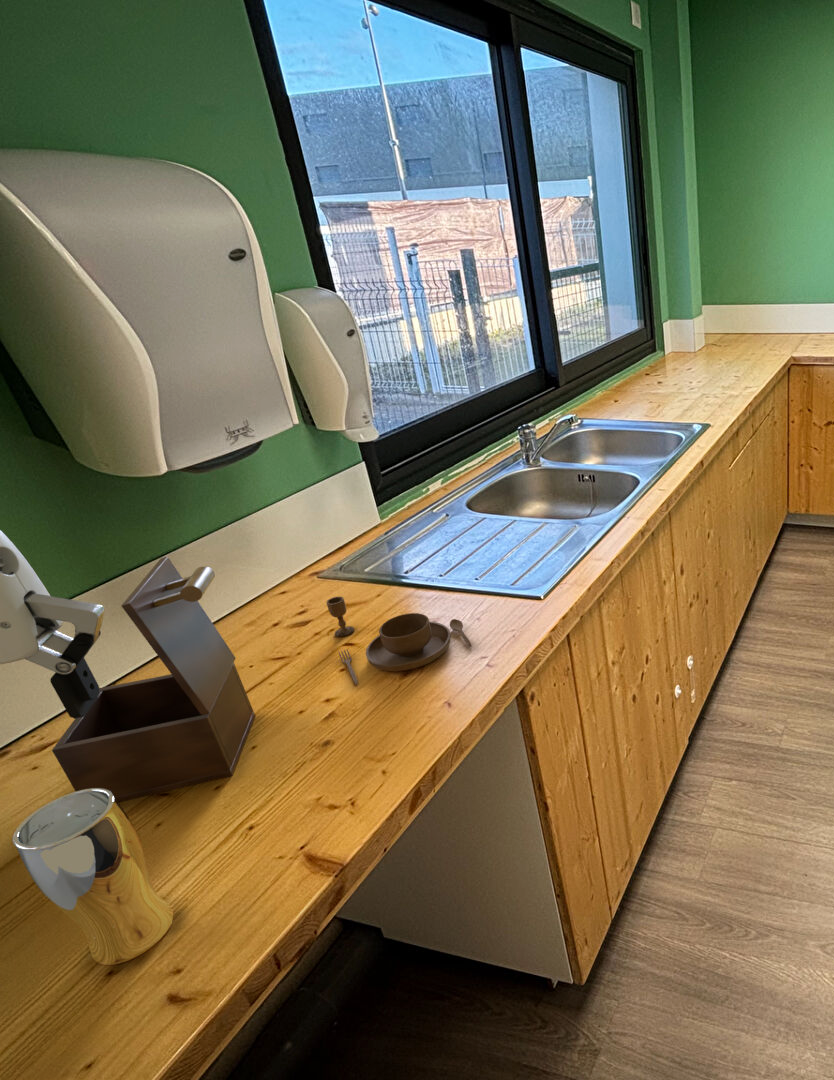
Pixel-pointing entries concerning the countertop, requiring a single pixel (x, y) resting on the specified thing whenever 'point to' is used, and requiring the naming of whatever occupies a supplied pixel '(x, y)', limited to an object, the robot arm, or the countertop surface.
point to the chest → (155, 738)
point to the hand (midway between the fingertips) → (11, 722)
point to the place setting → (399, 640)
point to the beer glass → (95, 872)
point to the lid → (182, 630)
